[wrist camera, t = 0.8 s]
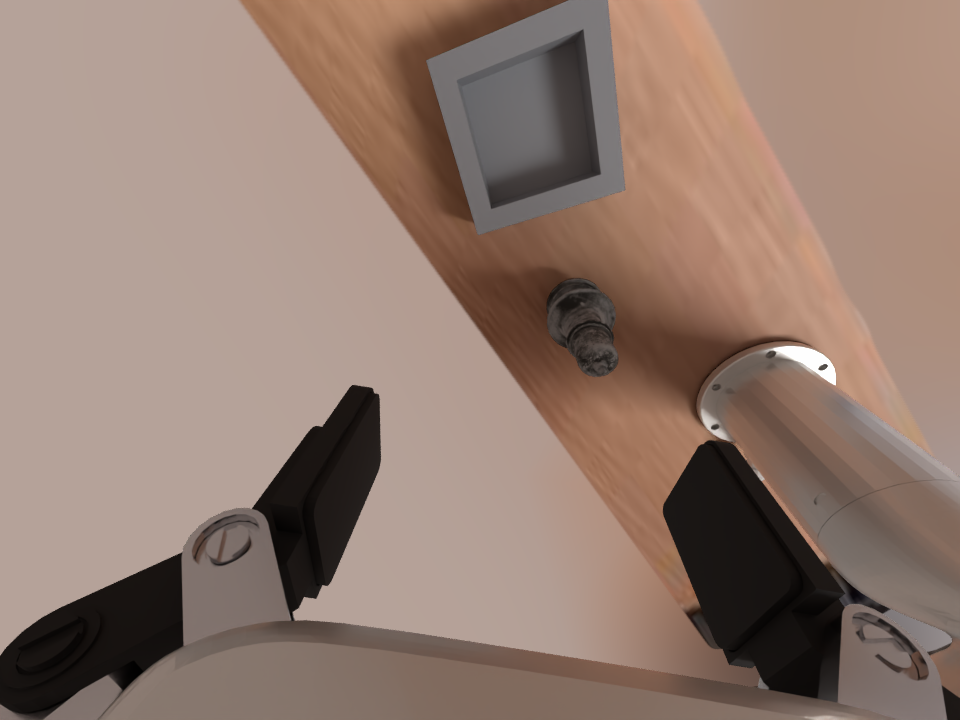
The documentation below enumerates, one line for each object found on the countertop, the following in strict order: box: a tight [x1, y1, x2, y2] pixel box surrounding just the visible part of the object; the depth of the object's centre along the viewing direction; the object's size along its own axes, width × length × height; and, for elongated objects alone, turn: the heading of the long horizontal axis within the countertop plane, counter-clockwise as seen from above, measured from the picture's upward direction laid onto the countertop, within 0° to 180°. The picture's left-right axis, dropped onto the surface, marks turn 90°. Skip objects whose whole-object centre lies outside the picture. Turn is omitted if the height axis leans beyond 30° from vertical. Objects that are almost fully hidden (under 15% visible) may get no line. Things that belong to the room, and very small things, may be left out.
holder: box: [426, 0, 625, 235], centre depth 26 cm, size 11×11×4 cm
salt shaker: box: [547, 278, 618, 377], centre depth 29 cm, size 6×6×12 cm
